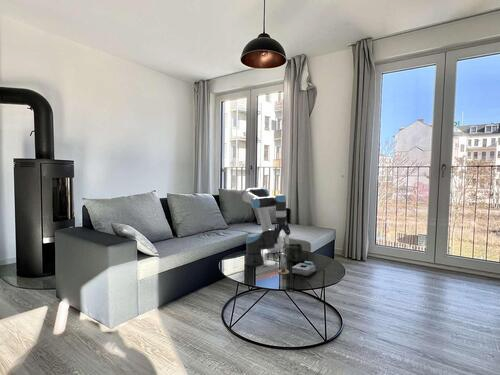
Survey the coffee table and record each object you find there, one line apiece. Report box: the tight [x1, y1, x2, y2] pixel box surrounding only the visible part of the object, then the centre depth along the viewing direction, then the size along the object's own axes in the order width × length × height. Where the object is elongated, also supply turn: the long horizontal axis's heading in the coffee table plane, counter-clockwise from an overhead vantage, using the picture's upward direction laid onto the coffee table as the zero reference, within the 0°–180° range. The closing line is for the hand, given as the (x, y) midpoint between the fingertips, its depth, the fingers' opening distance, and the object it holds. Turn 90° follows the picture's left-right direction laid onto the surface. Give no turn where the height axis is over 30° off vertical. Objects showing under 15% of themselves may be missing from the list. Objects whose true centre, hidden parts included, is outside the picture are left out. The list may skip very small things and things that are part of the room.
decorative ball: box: [266, 233, 285, 254], centre depth 258 cm, size 20×17×20 cm
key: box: [278, 252, 288, 272], centre depth 207 cm, size 3×6×13 cm, turn 52°
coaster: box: [277, 269, 290, 275], centre depth 207 cm, size 8×8×1 cm
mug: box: [284, 243, 303, 262], centre depth 235 cm, size 11×15×12 cm
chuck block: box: [291, 260, 316, 277], centre depth 207 cm, size 12×15×5 cm
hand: (282, 245), depth 207 cm, fingers open, 13 cm apart
